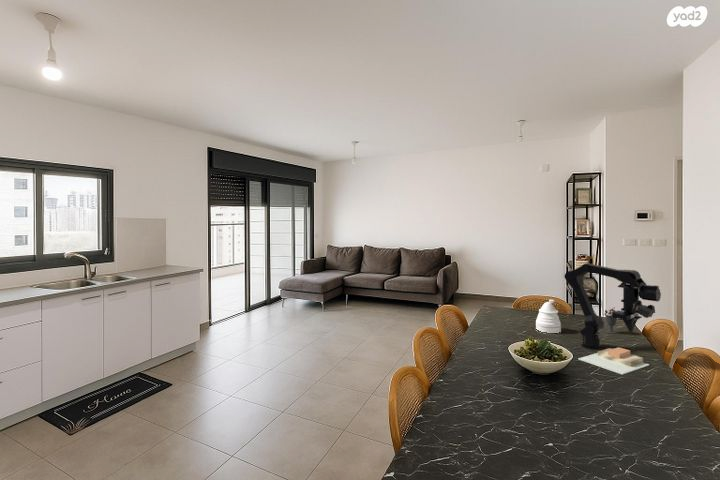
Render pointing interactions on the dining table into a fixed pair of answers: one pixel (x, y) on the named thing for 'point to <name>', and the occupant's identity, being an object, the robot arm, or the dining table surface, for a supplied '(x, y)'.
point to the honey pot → (548, 319)
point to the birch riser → (627, 360)
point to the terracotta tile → (619, 352)
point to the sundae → (610, 320)
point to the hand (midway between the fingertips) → (630, 331)
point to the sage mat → (611, 364)
